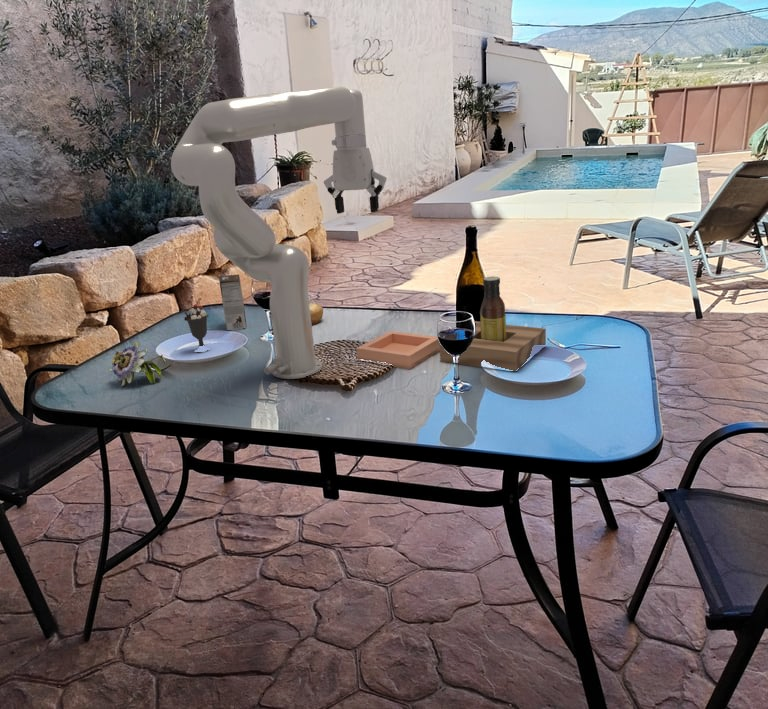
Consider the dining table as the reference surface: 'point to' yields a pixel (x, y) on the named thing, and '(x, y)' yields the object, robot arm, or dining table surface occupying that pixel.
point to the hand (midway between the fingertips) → (357, 212)
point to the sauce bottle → (492, 312)
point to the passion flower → (133, 364)
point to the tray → (399, 349)
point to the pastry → (315, 312)
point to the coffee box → (232, 302)
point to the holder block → (500, 348)
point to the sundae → (197, 322)
